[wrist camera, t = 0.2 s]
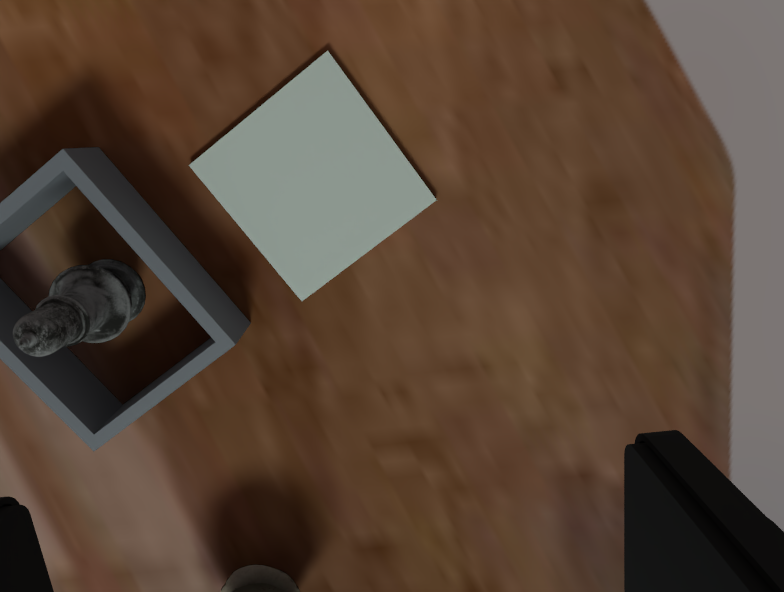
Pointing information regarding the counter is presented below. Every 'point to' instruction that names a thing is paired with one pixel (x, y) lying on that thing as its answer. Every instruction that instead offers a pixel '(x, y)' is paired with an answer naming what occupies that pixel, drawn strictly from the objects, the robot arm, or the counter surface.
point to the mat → (313, 178)
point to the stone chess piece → (82, 308)
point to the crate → (161, 254)
